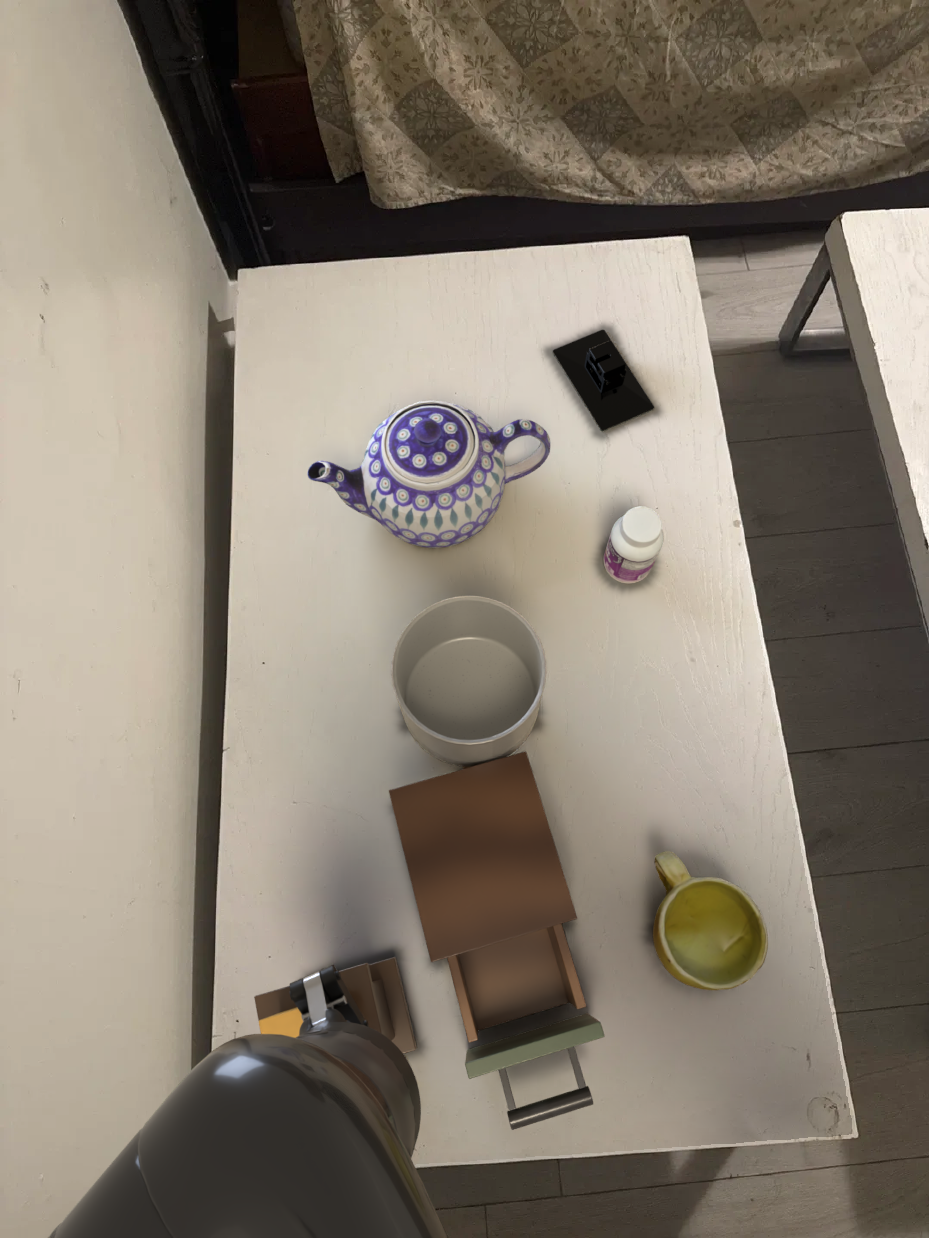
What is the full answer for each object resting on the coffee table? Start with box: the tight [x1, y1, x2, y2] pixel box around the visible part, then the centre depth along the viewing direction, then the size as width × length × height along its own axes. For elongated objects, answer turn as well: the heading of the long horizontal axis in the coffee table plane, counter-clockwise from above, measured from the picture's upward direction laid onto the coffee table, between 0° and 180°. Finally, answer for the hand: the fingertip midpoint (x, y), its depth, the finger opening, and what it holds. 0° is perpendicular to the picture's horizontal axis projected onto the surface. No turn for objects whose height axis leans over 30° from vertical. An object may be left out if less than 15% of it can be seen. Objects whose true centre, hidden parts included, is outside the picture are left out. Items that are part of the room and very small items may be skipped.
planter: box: [390, 595, 548, 769], centre depth 81 cm, size 13×13×18 cm
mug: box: [652, 850, 769, 991], centre depth 78 cm, size 12×10×10 cm
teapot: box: [307, 399, 551, 549], centre depth 91 cm, size 25×15×15 cm, turn 99°
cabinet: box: [388, 751, 578, 963], centre depth 79 cm, size 15×13×11 cm
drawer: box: [446, 923, 606, 1131], centre depth 75 cm, size 18×11×9 cm, turn 16°
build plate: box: [552, 329, 655, 433], centre depth 101 cm, size 12×7×5 cm, turn 25°
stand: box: [254, 956, 418, 1055], centre depth 70 cm, size 8×8×22 cm
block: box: [258, 1008, 303, 1038], centre depth 56 cm, size 5×5×6 cm
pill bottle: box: [603, 505, 665, 584], centre depth 90 cm, size 5×5×10 cm
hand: (371, 1069), depth 52 cm, fingers closed
